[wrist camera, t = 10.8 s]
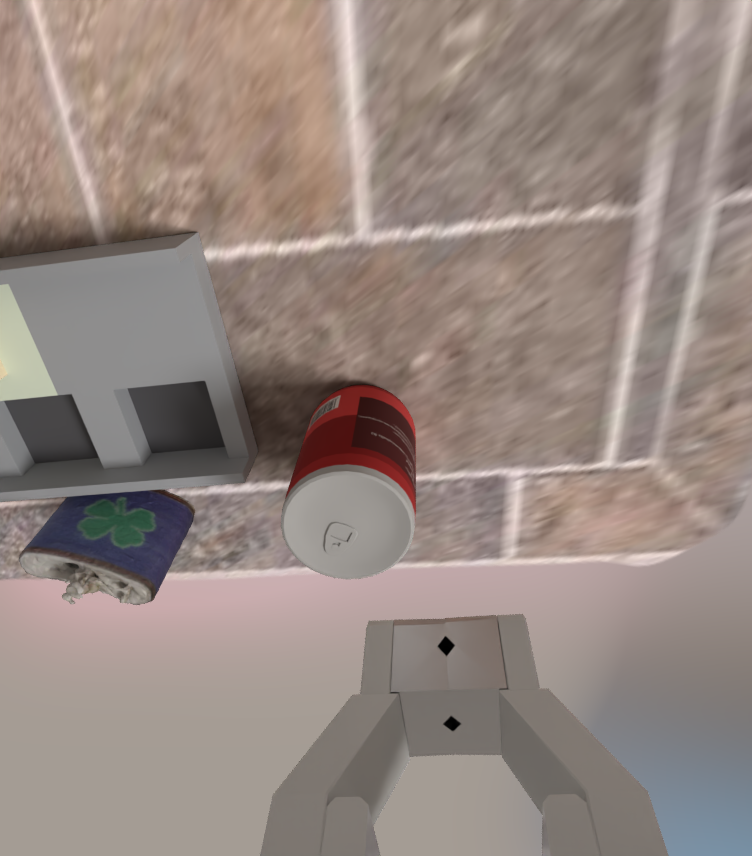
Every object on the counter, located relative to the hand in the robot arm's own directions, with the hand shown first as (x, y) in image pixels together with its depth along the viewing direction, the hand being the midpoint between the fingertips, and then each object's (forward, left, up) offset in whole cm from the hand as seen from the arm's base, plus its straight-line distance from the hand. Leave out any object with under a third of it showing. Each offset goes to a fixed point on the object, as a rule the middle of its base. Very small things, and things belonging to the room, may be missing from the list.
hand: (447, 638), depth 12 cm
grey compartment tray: (+5, -24, -29) cm, 38 cm away
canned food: (+12, -6, -29) cm, 32 cm away
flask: (+16, -24, -29) cm, 41 cm away
